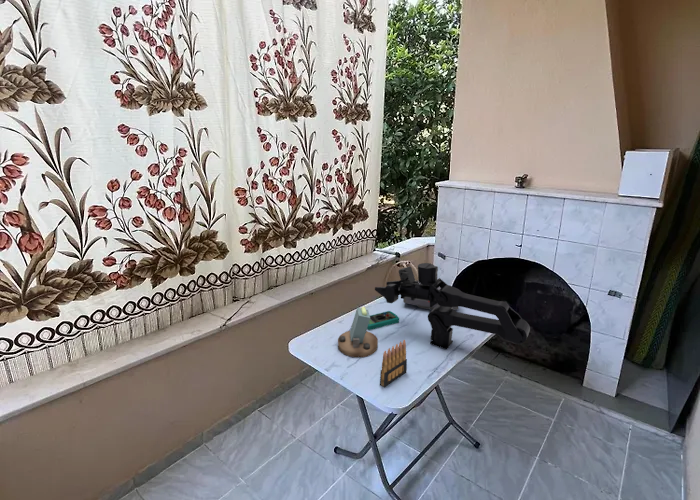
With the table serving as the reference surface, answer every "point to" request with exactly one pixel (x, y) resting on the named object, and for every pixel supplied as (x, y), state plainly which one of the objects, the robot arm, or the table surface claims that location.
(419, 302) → the bluetooth speaker
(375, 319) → the digital multimeter
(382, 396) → the table surface
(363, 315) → the post
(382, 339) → the table surface
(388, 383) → the ammunition clip
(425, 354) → the table surface
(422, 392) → the table surface
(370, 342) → the levelling base
